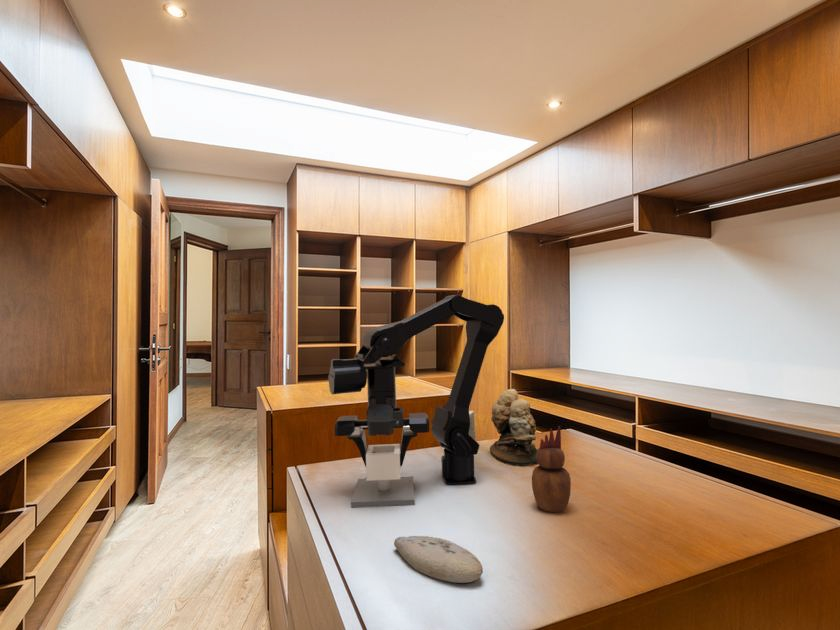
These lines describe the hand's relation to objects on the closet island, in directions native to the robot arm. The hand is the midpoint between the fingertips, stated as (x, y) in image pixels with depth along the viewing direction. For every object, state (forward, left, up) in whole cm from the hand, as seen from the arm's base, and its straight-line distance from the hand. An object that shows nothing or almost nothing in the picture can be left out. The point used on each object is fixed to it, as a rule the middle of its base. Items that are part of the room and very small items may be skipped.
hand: (384, 466), depth 89 cm
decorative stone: (-9, +26, -6) cm, 28 cm away
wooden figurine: (-31, +10, -6) cm, 33 cm away
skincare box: (-20, -26, -6) cm, 33 cm away
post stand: (0, 0, -6) cm, 6 cm away
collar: (0, 0, -2) cm, 2 cm away
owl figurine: (-32, -20, -6) cm, 38 cm away
